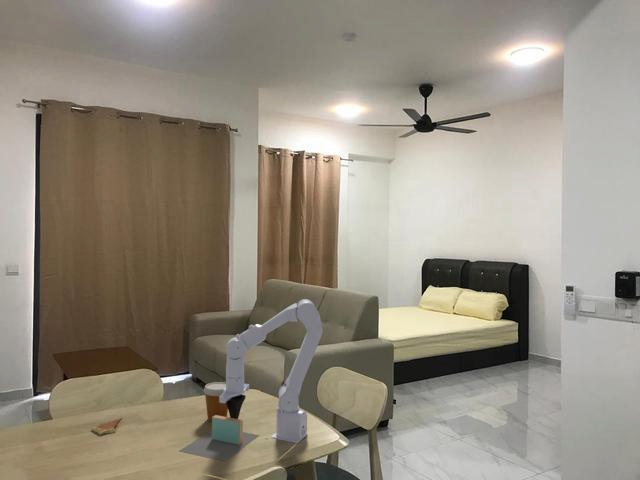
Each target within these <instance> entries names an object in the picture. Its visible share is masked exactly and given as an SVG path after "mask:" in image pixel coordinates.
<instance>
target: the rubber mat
mask: <svg viewBox="0 0 640 480" xmlns="http://www.w3.org/2000/svg"><path fill="white" fill-rule="evenodd" d="M258 437H260V435H259V434H255V433H251V432H250V433H248V432H244V431H243V443H241V444H240V445H237V444H232V443H228V442H223V441H218V440H213V439H212V430H210V431H208V432H207V433H206V434H204V435H202V436H200V437H199V438H197V439H196V440H194V441H192V442H190V443H189V444H188V445H186V446H184V447H183V448H181V449H180V450H178V452H181V453H184V454H189V455H194V456H199V457H204V458H206V459H207V458H208V459H213V460H216V461H221V462H226V461H227V460H229V459H230V458H232V457H233V456H234V455H236V454H237V453H238V452H240V451H241V450H242V449H244V448H245V447H246V446H248V445H249V444H250V443H252V442H253V441H254V440H256V439H257V438H258Z"/></svg>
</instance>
